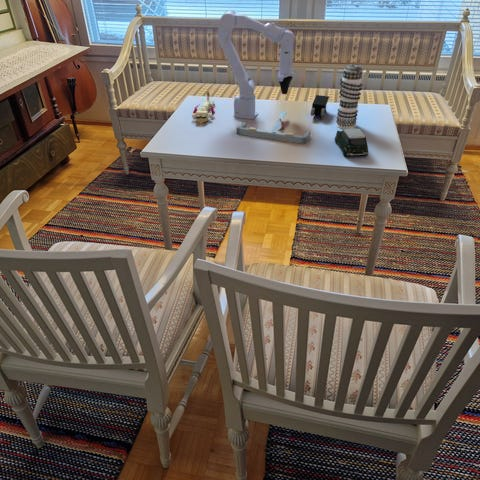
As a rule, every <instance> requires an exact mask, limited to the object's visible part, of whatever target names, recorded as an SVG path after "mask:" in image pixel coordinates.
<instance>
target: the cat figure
mask: <svg viewBox="0 0 480 480" xmlns="http://www.w3.org/2000/svg"><path fill="white" fill-rule="evenodd" d="M210 96H211V95H210V91H208V90H207V91H206V100H204V101H203V103H202V105H201V104H197V105H196V106H195V107H194V110H193V111H192V113H193V114H191V118H193V119H194V118H195V121H196V122H198V123H199V124H203V123H205V122H207V121H208V122H209V121H210V119H212V118H213V116H214V115H215V114H216V111H215V110H214V107H215V106H216V103H215V102H214V100H210ZM200 105H201V106H200ZM199 106H200V108H199V110H198V109H197V108H198V107H199ZM208 110H210V112H211V113H209V111H208Z"/></svg>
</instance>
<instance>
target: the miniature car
mask: <svg viewBox="0 0 480 480" xmlns="http://www.w3.org/2000/svg"><path fill="white" fill-rule="evenodd" d="M334 143H335V144H336V145H338V146H339V147H340V148H341V150H342V156H343V157H345V158H347V157H348V156H351V157H352V156H360V155H361V156H362V155H363V156H368V155H369V146H368V141H367V136H366V135H365V133H364V132H363V131H362V130H361V129H360V128H356V127H355V128H348V129H342V130H337V131H336V134H335V137H334Z"/></svg>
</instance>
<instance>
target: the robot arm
mask: <svg viewBox="0 0 480 480" xmlns="http://www.w3.org/2000/svg"><path fill="white" fill-rule="evenodd" d="M218 21H219V22H218V26H217V27H218V29H217V40H218V43H219V45H220V47H221V50H222V52H223V53H224V55H225V58H226V60H227V62H228V64H229V65H230V66H229V67H230V68H231V70H232V71H233V75H234V76H235V78H236V82H237V85H238V89H239V94H238V95H235V97H234V100H233V108H234V109H233V114H234V115H233V118H240V119H248V120H253V119H254V118H255V117H256V116H258V115H259V112H256V94H255V93H254V92H255V91H254V90H255V88H256V83H255V81H254V80H253V79H252V78H251V77H250V75H249V74H248V73H247V72H246V69H245V66H244V65H243V62H242V60H241V58H240V55H239V54H238V52H237V50H236V48H235V46H234V44H233V41H232V40H231V39H232V38H231V36H232V33H233V30H234V28H235V26H236V29H237V28H241V27H246V28H249V29H250V30H251V29H252V30H254V31H257V32H259V33H261V34H262V36H263V38H265V39H268V40H270V41H272V42H274V43H277V44H278V43H279V44H280V49H279V60H278V76H277V82H278V84H279V86H280V91H281V94H282V95H287V94H288V93H289V89H290V85H291V82H292V80H293V77H294V75H295V72H293V70H294V69H293V61H294V43H295V36H294V33H293V31H291V30H290V29H288V28H287V29H286V28H285V27H283V28H282V27H279V26H277V25H275V24H276V23H275V22H267V23H266V24H265V23H262V22H260V21H258V20H256V19H254V18H252V17H250V16H248V15H246V14H244V13H241V12H238V11H236V12H235V11H234V10H232V9H230V10H226V11H225V12H224V13H223V14H222V15H221V17H220V19H219V20H218Z"/></svg>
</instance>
